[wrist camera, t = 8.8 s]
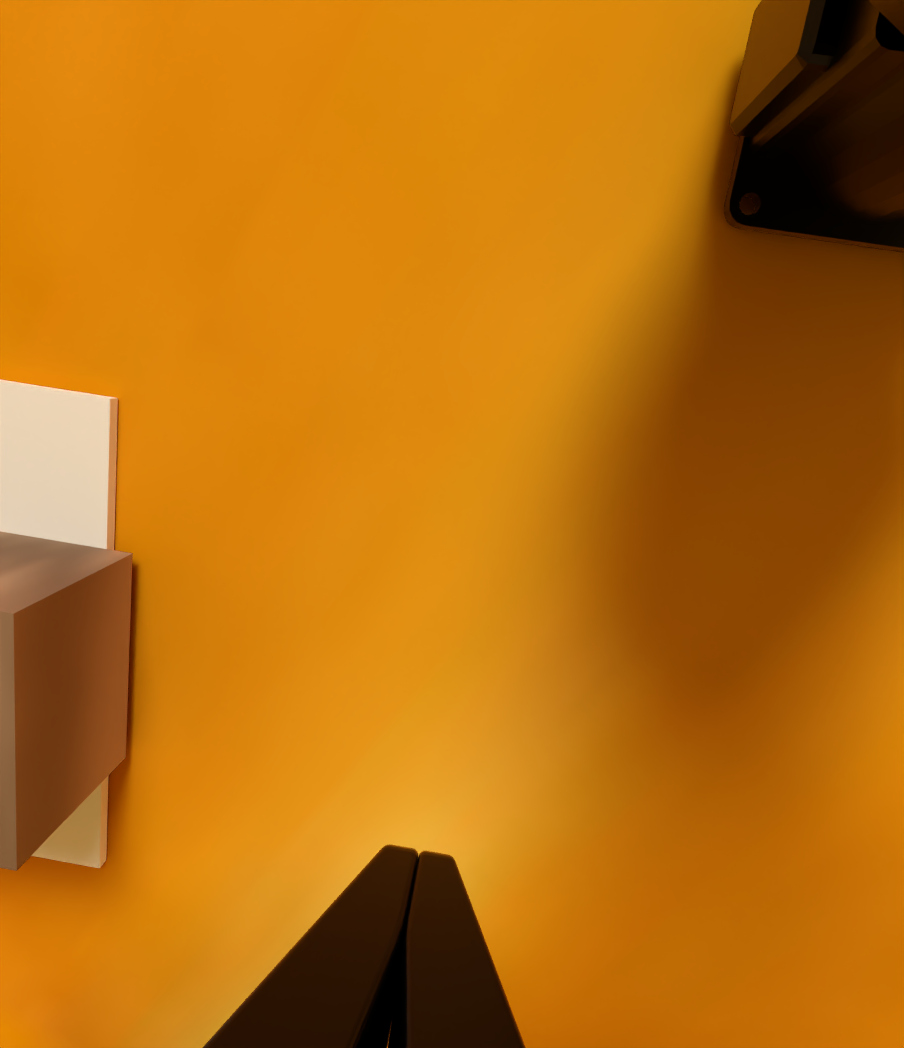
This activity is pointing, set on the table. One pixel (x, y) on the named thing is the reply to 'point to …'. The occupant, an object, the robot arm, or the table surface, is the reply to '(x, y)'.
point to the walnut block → (58, 682)
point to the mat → (62, 525)
